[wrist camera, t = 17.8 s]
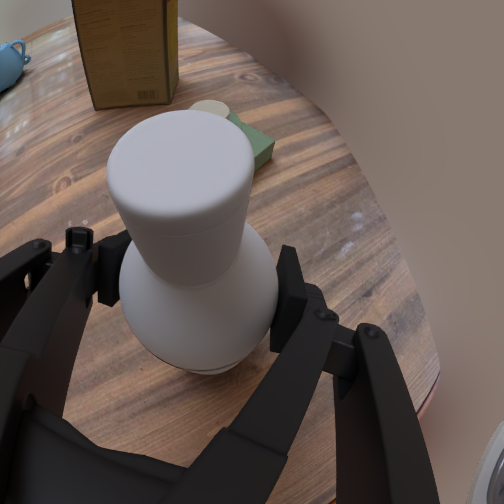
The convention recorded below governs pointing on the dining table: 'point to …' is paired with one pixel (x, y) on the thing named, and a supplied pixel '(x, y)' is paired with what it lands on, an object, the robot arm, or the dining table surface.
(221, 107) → the beige push button
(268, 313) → the bath foam
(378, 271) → the dining table surface
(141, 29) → the food packaging
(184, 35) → the dining table surface
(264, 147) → the push button base
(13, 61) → the decorative pot
